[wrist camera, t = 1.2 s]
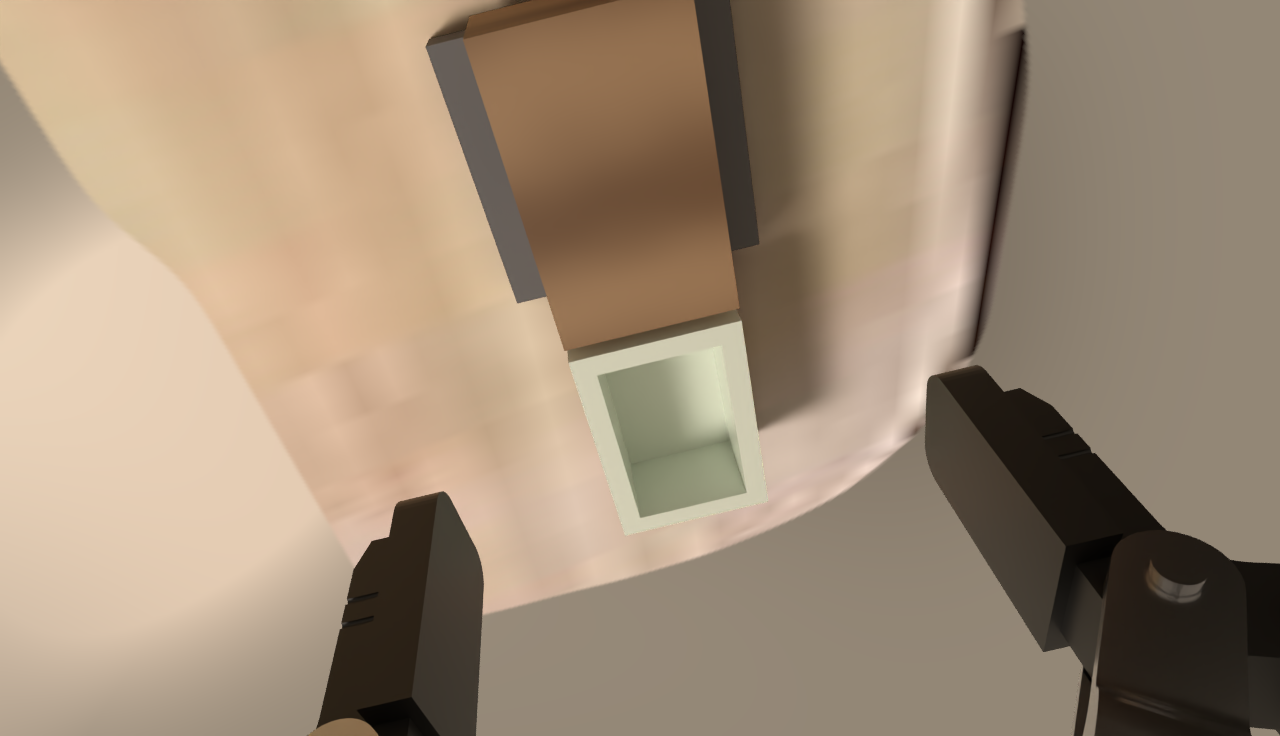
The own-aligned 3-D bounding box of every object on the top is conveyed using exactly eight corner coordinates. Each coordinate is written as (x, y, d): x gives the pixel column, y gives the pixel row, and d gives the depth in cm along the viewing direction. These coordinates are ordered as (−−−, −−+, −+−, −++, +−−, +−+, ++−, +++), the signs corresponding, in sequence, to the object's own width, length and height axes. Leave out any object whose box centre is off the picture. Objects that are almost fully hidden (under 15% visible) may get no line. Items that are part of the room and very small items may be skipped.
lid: (469, 15, 22) (462, 39, 19) (672, -36, 21) (691, -18, 19) (561, 305, 28) (564, 350, 25) (720, 266, 27) (739, 308, 25)
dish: (563, 302, 29) (568, 362, 25) (717, 265, 28) (741, 320, 25) (615, 468, 34) (625, 535, 31) (745, 437, 34) (768, 501, 31)
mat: (429, 39, 23) (425, 46, 22) (718, -35, 23) (726, -30, 22) (517, 289, 28) (517, 303, 27) (752, 232, 28) (759, 244, 27)
